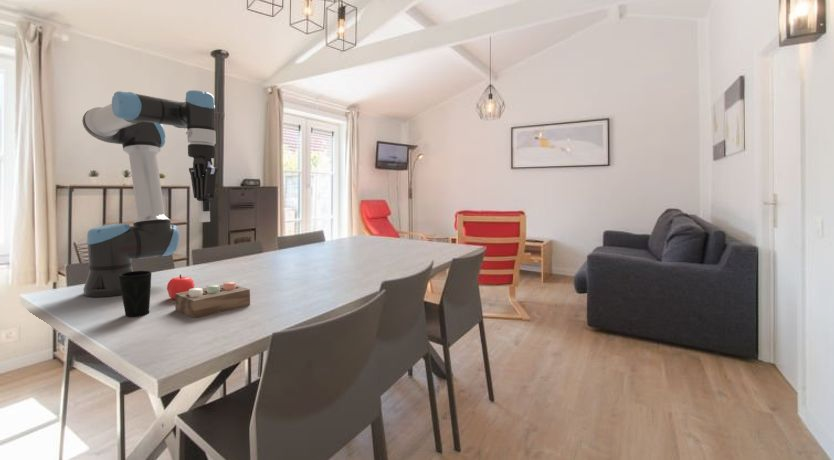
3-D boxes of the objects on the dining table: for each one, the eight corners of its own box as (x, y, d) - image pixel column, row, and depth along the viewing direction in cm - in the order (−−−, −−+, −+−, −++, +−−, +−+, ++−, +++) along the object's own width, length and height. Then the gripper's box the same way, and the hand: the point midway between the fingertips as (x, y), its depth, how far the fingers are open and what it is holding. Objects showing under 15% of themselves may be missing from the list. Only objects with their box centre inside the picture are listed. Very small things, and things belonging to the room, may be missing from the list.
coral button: (221, 295, 124) (221, 283, 124) (232, 293, 127) (231, 281, 127) (227, 297, 122) (227, 285, 122) (238, 295, 125) (238, 282, 125)
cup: (136, 319, 108) (134, 277, 107) (113, 317, 110) (111, 275, 109) (159, 311, 116) (157, 271, 115) (138, 309, 117) (136, 270, 116)
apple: (161, 300, 126) (160, 276, 126) (179, 294, 134) (178, 271, 134) (184, 301, 126) (183, 277, 125) (200, 295, 134) (199, 272, 133)
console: (175, 309, 117) (174, 293, 117) (230, 297, 131) (229, 283, 131) (194, 318, 110) (193, 300, 110) (250, 304, 124) (249, 289, 124)
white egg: (186, 302, 116) (186, 289, 115) (199, 300, 119) (198, 287, 118) (192, 305, 114) (192, 291, 113) (205, 302, 117) (204, 289, 116)
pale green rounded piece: (204, 298, 120) (204, 286, 120) (216, 296, 123) (216, 284, 123) (210, 301, 118) (210, 288, 118) (222, 298, 121) (221, 286, 120)
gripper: (178, 144, 119) (181, 221, 121) (199, 142, 111) (202, 223, 114) (204, 146, 125) (206, 219, 127) (225, 144, 117) (227, 222, 120)
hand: (204, 221), depth 120 cm, fingers closed
